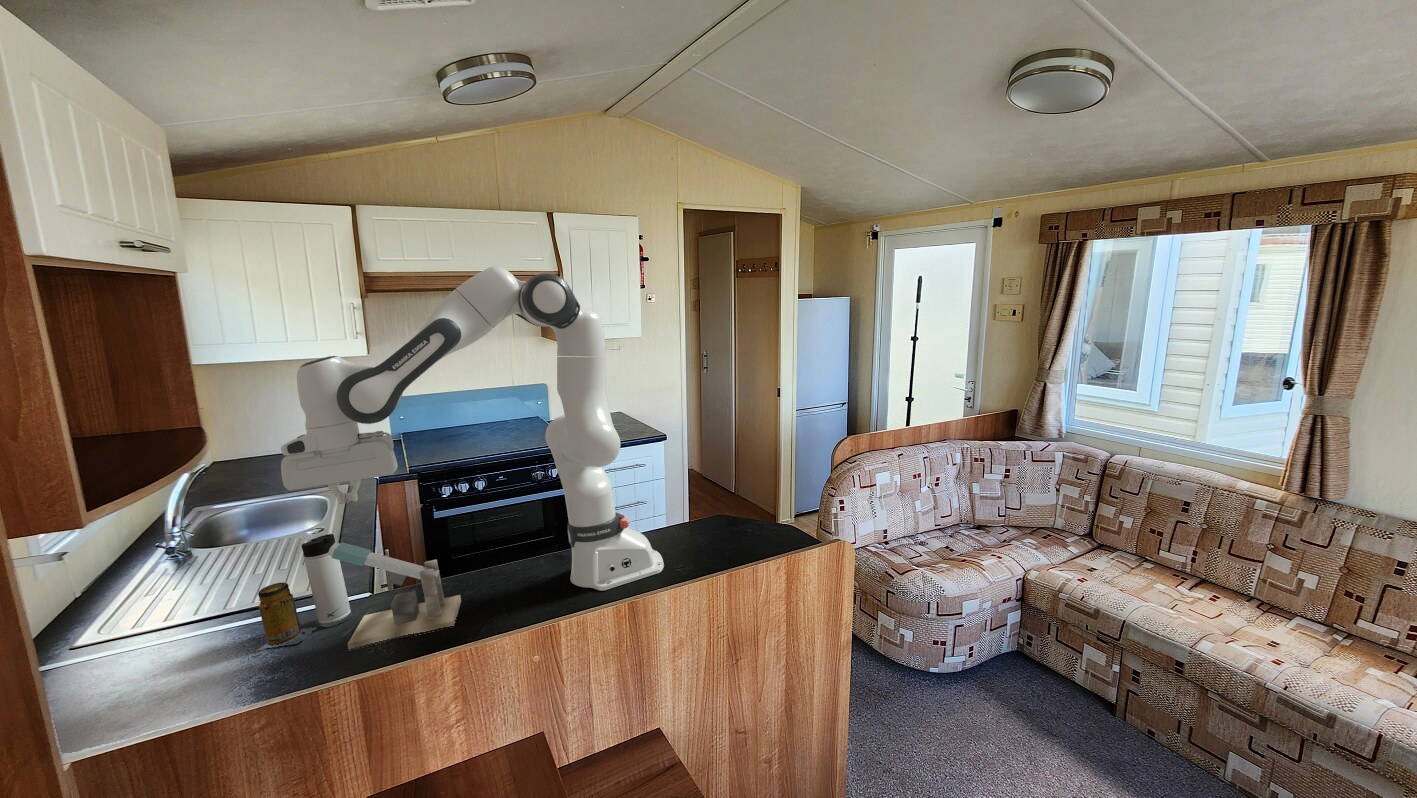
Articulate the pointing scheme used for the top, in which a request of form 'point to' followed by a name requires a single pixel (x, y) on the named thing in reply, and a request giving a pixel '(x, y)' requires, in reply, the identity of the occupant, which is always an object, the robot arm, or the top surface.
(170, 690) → the top surface
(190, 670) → the top surface
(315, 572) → the travel mug
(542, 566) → the top surface
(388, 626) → the press base
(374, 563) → the press lever
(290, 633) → the condiment
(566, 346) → the robot arm
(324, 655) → the top surface
